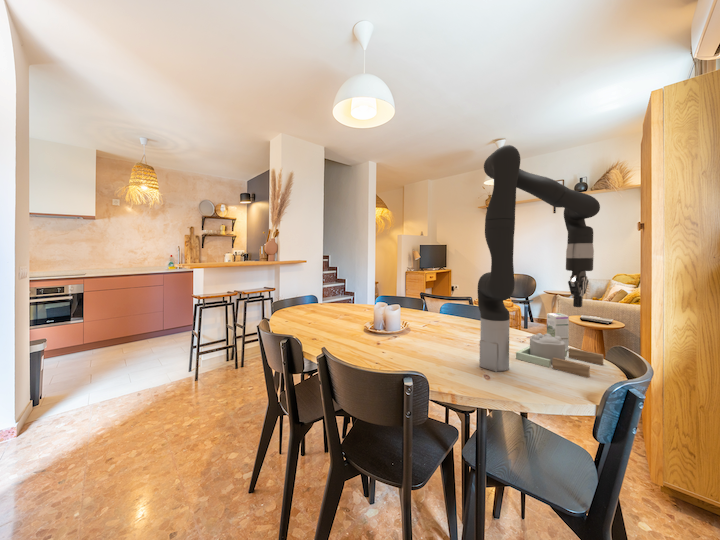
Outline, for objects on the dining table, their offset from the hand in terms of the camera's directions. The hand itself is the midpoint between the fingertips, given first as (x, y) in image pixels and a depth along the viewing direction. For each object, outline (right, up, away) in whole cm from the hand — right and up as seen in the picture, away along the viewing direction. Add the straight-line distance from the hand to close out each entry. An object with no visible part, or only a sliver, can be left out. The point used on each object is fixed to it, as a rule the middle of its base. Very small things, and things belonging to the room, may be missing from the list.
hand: (577, 306), depth 100 cm
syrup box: (+6, -20, +20) cm, 29 cm away
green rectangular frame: (-7, -21, +10) cm, 24 cm away
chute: (+1, -21, +1) cm, 21 cm away
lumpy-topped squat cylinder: (-5, -21, +10) cm, 24 cm away
